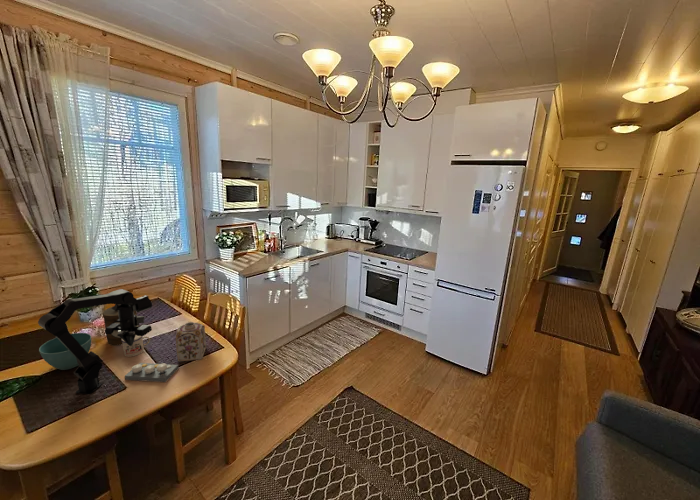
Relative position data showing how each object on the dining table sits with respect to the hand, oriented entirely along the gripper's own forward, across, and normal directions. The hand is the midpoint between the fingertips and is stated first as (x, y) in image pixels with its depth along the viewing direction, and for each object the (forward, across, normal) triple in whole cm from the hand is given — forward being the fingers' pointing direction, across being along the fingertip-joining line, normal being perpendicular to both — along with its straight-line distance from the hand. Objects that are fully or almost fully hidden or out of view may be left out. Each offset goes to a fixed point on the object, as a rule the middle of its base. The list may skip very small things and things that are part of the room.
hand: (131, 345), depth 143 cm
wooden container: (+12, +24, -24) cm, 36 cm away
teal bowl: (+12, +31, +1) cm, 33 cm away
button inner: (+11, -6, +5) cm, 14 cm away
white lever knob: (+10, -18, +5) cm, 21 cm away
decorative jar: (+12, -22, -13) cm, 28 cm away
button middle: (+11, -12, +5) cm, 17 cm away
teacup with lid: (+12, +8, -13) cm, 20 cm away
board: (+12, -12, +4) cm, 17 cm away
